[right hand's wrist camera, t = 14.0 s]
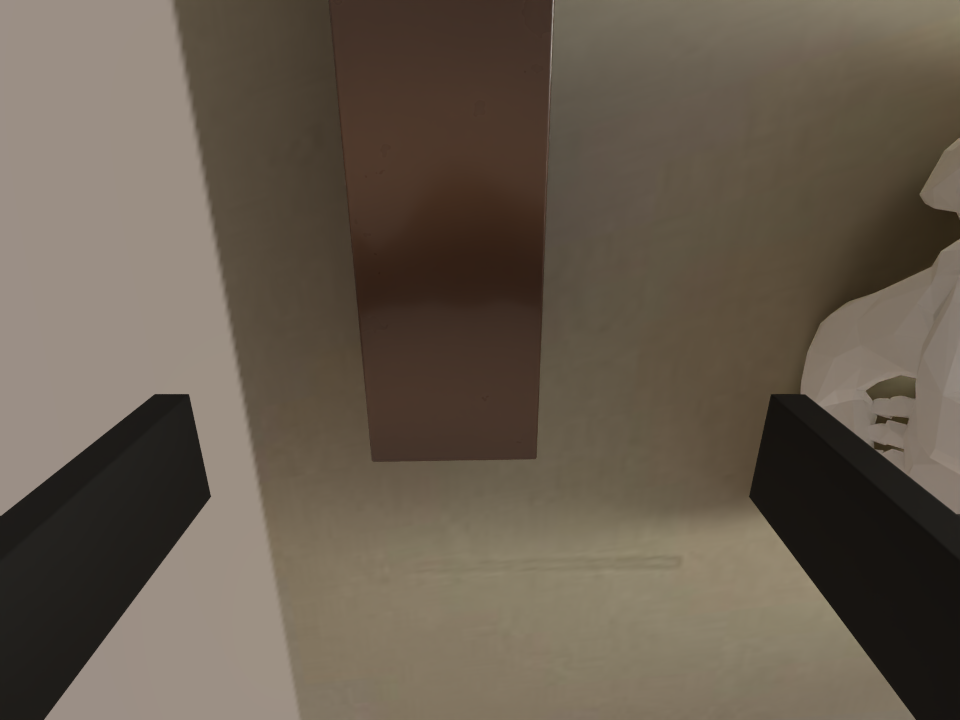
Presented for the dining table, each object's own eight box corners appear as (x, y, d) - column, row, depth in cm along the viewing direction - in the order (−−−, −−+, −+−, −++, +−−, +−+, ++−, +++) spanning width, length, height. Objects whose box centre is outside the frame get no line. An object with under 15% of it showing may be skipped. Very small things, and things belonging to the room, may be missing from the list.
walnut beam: (344, -497, 13) (223, -1104, 7) (534, -495, 13) (598, -1091, 7) (400, 362, 22) (371, 462, 15) (516, 361, 22) (536, 459, 15)
